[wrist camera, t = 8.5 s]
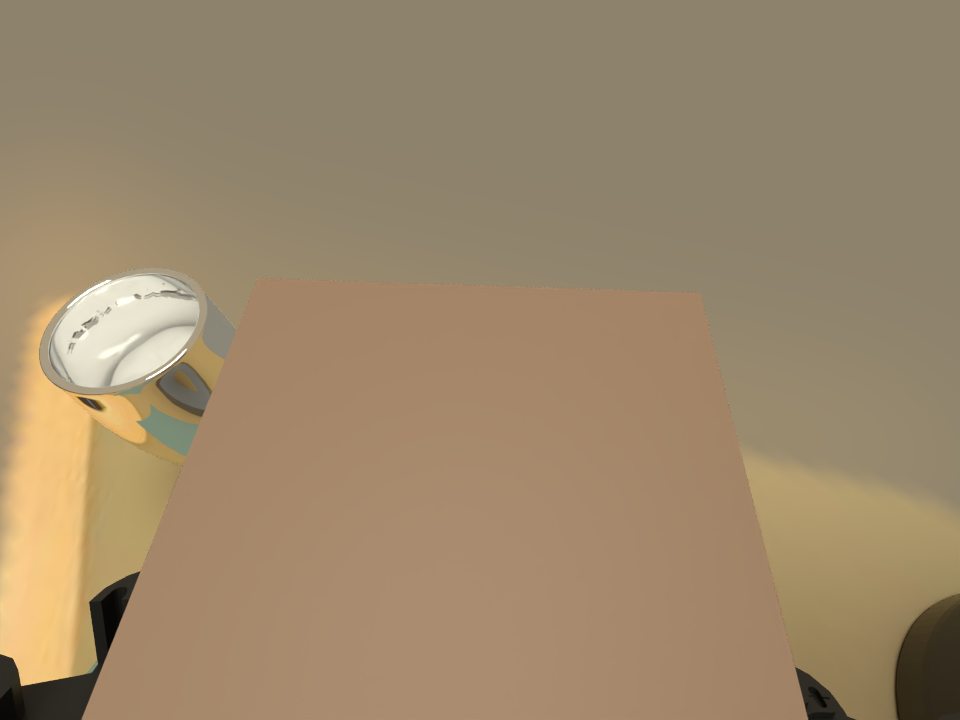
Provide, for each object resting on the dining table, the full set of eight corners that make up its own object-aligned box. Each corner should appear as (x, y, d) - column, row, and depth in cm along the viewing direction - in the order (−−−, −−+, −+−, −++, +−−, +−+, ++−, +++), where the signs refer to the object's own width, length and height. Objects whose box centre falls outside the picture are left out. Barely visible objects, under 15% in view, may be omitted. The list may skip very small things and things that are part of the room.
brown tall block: (544, 587, 16) (699, 293, 5) (548, 793, 13) (979, 1400, 2) (419, 580, 16) (257, 278, 5) (397, 782, 13) (-143, 1281, 2)
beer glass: (282, 396, 36) (174, 240, 24) (332, 468, 33) (239, 333, 21) (188, 455, 34) (12, 317, 21) (233, 538, 31) (59, 433, 18)
